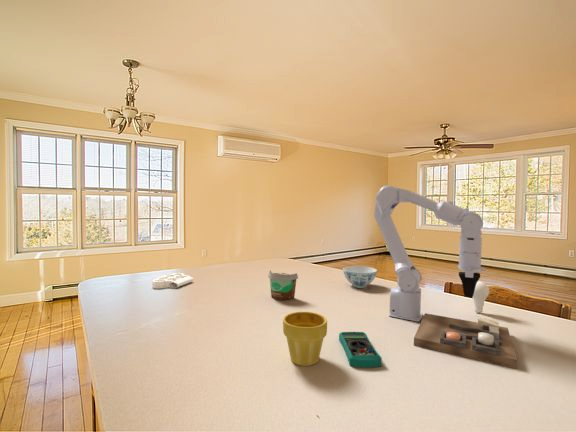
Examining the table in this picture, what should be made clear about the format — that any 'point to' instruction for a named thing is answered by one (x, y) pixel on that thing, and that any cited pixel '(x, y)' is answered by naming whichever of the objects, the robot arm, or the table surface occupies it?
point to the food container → (282, 285)
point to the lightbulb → (480, 296)
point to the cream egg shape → (485, 338)
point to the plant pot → (304, 336)
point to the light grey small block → (494, 332)
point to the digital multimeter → (359, 350)
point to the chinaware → (359, 275)
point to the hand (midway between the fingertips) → (468, 296)
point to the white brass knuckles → (171, 281)
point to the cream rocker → (487, 322)
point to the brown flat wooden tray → (465, 340)
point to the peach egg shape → (453, 336)
